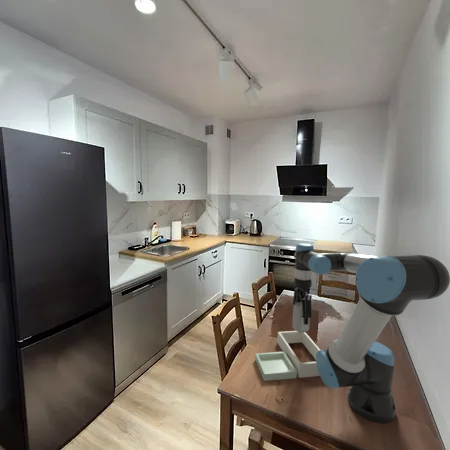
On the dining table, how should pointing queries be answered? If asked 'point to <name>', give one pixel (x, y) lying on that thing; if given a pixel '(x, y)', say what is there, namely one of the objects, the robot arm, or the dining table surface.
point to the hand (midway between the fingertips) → (300, 325)
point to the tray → (275, 366)
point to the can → (298, 317)
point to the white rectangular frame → (294, 337)
